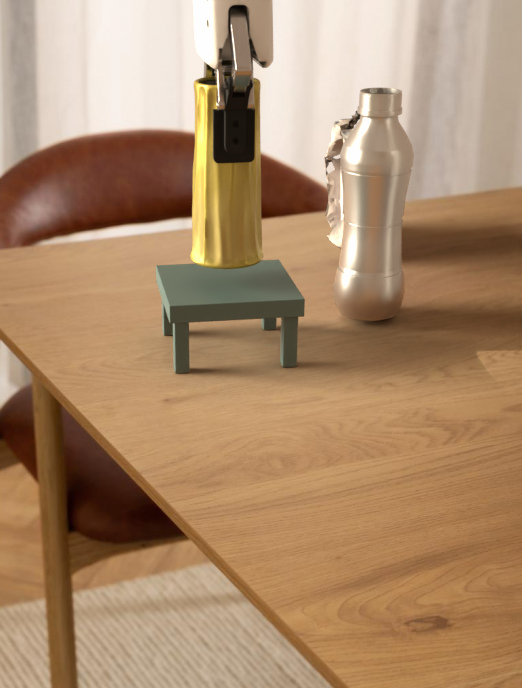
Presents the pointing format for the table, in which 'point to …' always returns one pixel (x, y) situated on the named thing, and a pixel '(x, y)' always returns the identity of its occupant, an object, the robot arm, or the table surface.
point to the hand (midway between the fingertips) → (227, 151)
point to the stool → (229, 302)
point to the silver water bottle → (373, 209)
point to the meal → (337, 177)
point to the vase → (224, 193)
